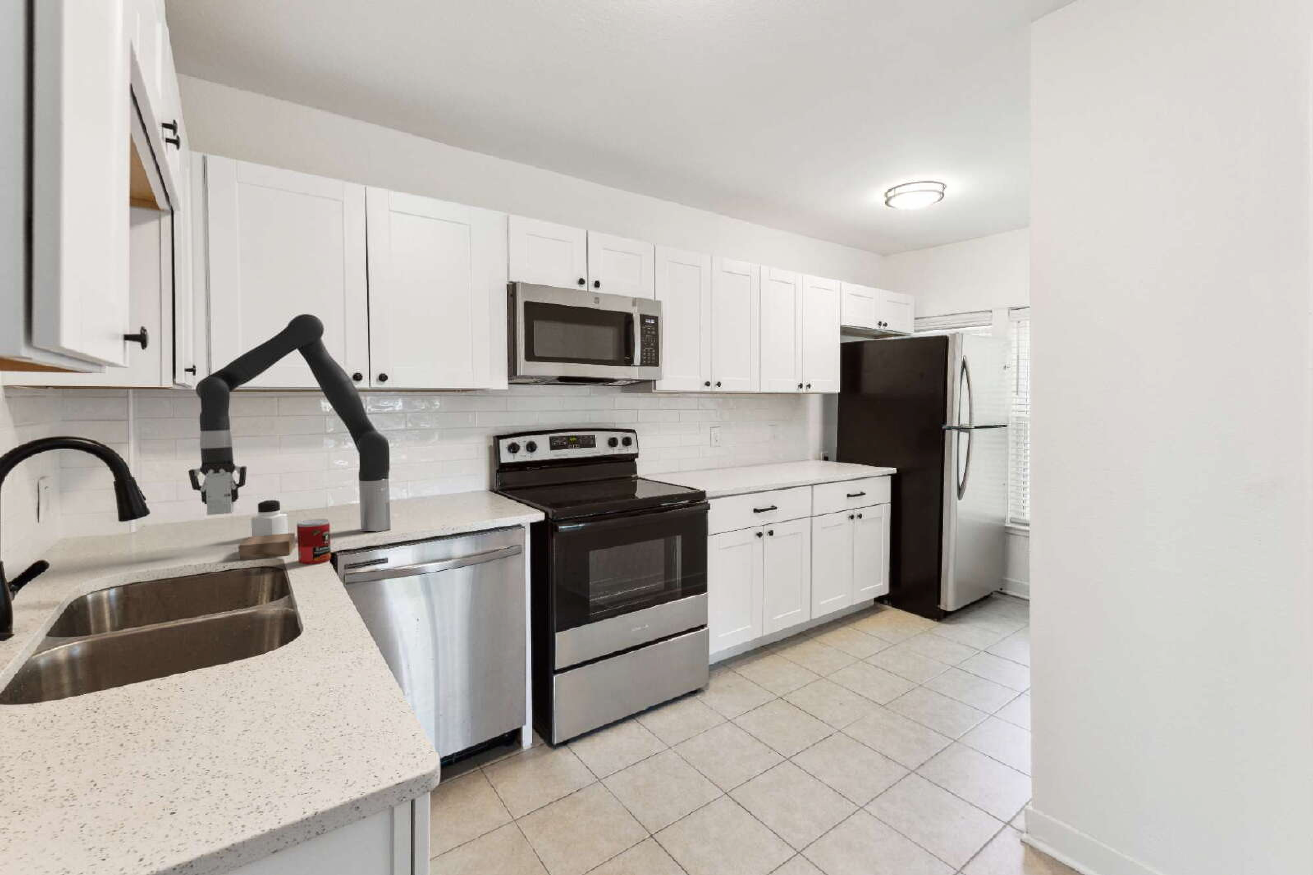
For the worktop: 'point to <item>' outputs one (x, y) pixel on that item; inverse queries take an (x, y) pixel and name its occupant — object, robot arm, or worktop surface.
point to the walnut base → (267, 546)
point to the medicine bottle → (269, 519)
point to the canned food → (313, 541)
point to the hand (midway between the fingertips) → (220, 502)
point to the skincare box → (219, 493)
